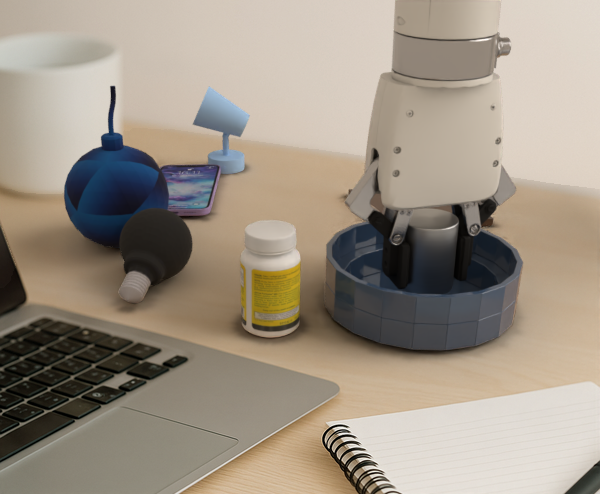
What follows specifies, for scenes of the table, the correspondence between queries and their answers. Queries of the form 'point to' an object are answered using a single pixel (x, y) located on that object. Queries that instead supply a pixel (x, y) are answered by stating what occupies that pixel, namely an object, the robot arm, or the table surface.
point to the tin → (431, 251)
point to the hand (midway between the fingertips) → (425, 275)
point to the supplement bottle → (270, 279)
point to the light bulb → (152, 250)
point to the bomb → (112, 187)
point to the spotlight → (223, 129)
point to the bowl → (420, 307)
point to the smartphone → (191, 188)
